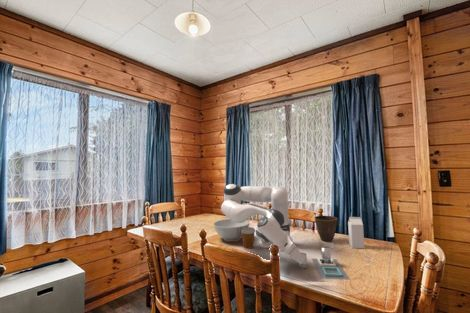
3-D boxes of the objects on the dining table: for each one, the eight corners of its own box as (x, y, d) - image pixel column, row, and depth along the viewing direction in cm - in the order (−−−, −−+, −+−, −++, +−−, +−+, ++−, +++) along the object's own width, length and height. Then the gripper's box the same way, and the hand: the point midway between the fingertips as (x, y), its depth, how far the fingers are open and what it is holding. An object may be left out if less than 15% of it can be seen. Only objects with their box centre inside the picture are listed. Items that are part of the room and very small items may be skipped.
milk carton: (364, 248, 146) (362, 218, 147) (352, 248, 147) (350, 218, 148) (360, 244, 153) (359, 216, 154) (349, 244, 154) (347, 215, 155)
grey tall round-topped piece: (322, 265, 120) (322, 249, 121) (321, 261, 125) (320, 246, 125) (332, 265, 120) (331, 249, 120) (329, 261, 124) (329, 246, 124)
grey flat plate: (320, 281, 106) (320, 275, 106) (311, 261, 129) (311, 256, 129) (350, 282, 104) (350, 277, 104) (336, 262, 127) (336, 257, 127)
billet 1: (298, 271, 117) (297, 255, 117) (297, 267, 121) (297, 252, 122) (307, 272, 116) (307, 255, 116) (306, 268, 120) (305, 252, 121)
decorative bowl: (250, 244, 159) (250, 227, 160) (212, 245, 160) (211, 227, 160) (249, 233, 186) (248, 218, 187) (216, 234, 186) (215, 219, 187)
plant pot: (335, 245, 153) (334, 221, 154) (312, 241, 162) (311, 218, 163) (340, 239, 165) (339, 217, 166) (319, 236, 174) (318, 214, 175)
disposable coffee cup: (247, 243, 162) (246, 226, 162) (258, 246, 156) (257, 228, 156) (238, 247, 154) (238, 229, 155) (250, 250, 148) (249, 231, 149)
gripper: (275, 240, 129) (292, 257, 129) (285, 254, 108) (306, 274, 109) (282, 232, 129) (300, 249, 129) (294, 244, 109) (315, 264, 109)
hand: (303, 260), depth 119 cm, fingers closed on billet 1, 4 cm apart
